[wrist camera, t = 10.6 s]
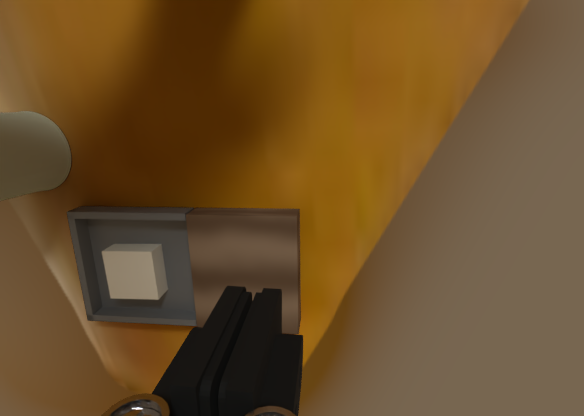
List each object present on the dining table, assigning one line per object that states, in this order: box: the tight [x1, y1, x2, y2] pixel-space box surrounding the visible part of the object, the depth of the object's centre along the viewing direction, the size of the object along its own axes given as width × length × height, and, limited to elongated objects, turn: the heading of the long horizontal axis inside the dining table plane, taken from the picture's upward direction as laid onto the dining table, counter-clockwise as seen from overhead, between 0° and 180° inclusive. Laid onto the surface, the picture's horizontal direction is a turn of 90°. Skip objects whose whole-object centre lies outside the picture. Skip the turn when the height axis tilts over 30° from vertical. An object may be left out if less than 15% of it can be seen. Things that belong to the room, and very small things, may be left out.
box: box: [67, 206, 197, 326], centre depth 41 cm, size 14×14×2 cm
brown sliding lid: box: [186, 208, 301, 334], centre depth 39 cm, size 14×12×3 cm
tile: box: [102, 244, 168, 300], centre depth 41 cm, size 6×6×2 cm
